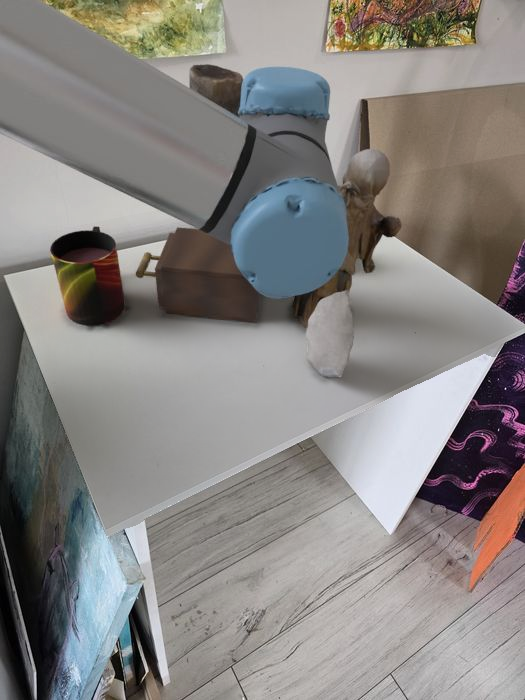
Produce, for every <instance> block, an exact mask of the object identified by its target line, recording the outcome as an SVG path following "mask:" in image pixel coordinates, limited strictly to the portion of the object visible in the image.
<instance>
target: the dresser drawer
mask: <svg viewBox="0 0 525 700" xmlns="http://www.w3.org/2000/svg"><path fill="white" fill-rule="evenodd" d="M174 234H175V232H169V234H168V237H167V238H166V241H165V243H164V246H163V248H162V251H161V253H160V255H155V254H154V255H153V254H152V253H151V252H148V251H147V252H144V254H143V256H142V258H141V260H140V263H139V264H138V266H137V269H136V271H135V273H134V274H135V277H136V278H138V279H142V278H144V277H151V278H152V277H153V278H155V285H156V296H157V307H158V308H164V296H163V284H162V272H161V266H162V264H163V261H164V259H165V256H166V254H167V251H168V249H169V246H170V244H171V241H172V239H173V236H174ZM151 261H157V262H156V264H155V267H154V271H148V270H147V269H148V267H149V265H150V263H151ZM164 309H165V308H164Z"/></svg>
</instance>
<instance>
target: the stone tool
mask: <svg viewBox="0 0 525 700" xmlns="http://www.w3.org/2000/svg"><path fill="white" fill-rule="evenodd" d="M350 307H351V297H350V291H348V290H346V291H343V292H336V293H334V294H332V295H330V296H328V297H326V298H323V299H322V300H320V301H319V302H318V304H317V306H316V308H315V310H314V312H313V314H312V315H311V317H310V318H309V320H308V328H306V332H305V335H304V337H305V341H306V348H307V350H306V358H307V361H308V363H309V364H310V365H311V366H312V367H313V368H314V369H315V370H316V371H317V372H318V374H319V375H320V376H321V377H329V378H335V377H338V378H339V377H340V378H341V377H342V376H343V374H344V371H345V369H346V368H347V365H348V363H349V361H350V355H351V351H352V347H353V345H354V339H355V336H354V320H353V319H354V316H353V313H352V309H351V308H350Z"/></svg>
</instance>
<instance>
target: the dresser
mask: <svg viewBox="0 0 525 700" xmlns="http://www.w3.org/2000/svg"><path fill="white" fill-rule="evenodd" d="M174 233H175V234H174V236H173V239H172V241H171V244H170V246H169V249H168V251H167V254H166V256H165V259H164V261H163V264H162V266H161V272H162V284H163V296H164V314H165V315H171V316H180V317H181V316H182V317H191V318H200V319H201V318H202V319H210V320H211V319H212V320H222V321H231V322H240V323H250V324H256V323H257V317H258V311H259V310H258V309H259V302H260V296H261V293H259V292H258V291H257V290H256V289H255V288H254V287H253V286H252V284H250V282H249V281H248V280H247V279H246V278H245V277H244V276H243V275H242V273H241V272H240V270H239V269H238V267H237V265H236V262H235V259H234V254H233V252H232V251H231V247H230V245H229V244H227V243H224V242H222V241H220V240H218V239H216V238H214V237H212V236H210V235H209V234H207V233H205V232H203V231H201V230H199V229H198V228H188V227H179V226H177V227H176V229H175V231H174Z"/></svg>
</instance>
